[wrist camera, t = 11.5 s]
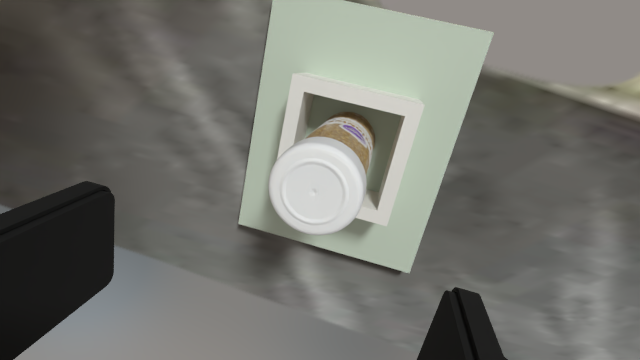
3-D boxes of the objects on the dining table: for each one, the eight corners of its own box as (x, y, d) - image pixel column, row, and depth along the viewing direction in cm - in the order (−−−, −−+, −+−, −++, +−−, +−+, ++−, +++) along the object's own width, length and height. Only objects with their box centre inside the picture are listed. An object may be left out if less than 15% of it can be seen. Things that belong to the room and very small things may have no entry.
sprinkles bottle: (384, 123, 28) (380, 168, 15) (361, 175, 30) (341, 254, 17) (330, 101, 28) (283, 127, 16) (310, 153, 30) (253, 215, 17)
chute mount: (280, -10, 28) (256, -28, 23) (488, 34, 26) (512, 26, 21) (244, 217, 35) (219, 243, 29) (408, 264, 33) (411, 301, 28)
